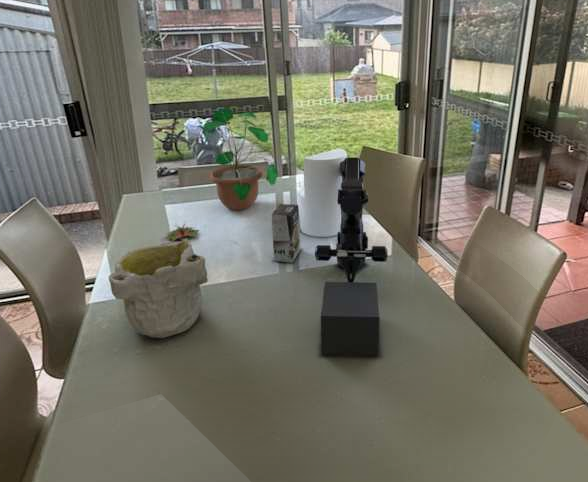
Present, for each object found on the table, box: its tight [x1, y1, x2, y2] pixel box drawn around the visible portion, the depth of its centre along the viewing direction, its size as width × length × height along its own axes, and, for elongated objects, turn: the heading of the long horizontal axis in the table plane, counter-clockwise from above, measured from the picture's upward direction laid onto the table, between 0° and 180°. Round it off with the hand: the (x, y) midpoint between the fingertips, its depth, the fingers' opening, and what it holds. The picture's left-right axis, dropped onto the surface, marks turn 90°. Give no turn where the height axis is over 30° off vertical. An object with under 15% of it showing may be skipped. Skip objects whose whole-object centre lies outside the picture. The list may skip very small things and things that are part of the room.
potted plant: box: [203, 108, 279, 211], centre depth 177 cm, size 31×29×40 cm
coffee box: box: [270, 203, 301, 264], centre depth 139 cm, size 9×6×16 cm
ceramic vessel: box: [108, 239, 209, 339], centre depth 108 cm, size 23×24×25 cm
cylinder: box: [297, 147, 348, 238], centre depth 157 cm, size 17×17×28 cm
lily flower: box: [163, 221, 201, 242], centre depth 155 cm, size 12×12×5 cm
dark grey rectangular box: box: [320, 281, 380, 357], centre depth 103 cm, size 14×13×11 cm
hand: (350, 286), depth 112 cm, fingers closed
